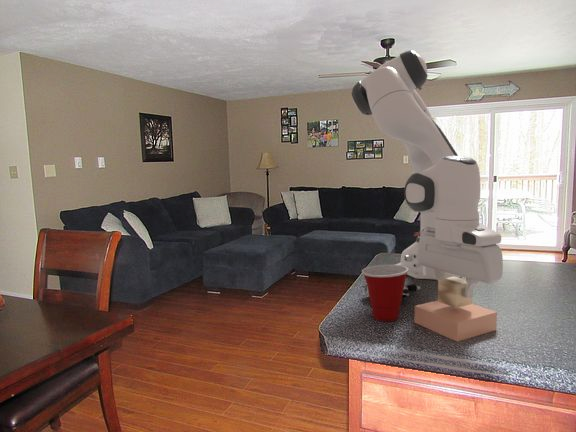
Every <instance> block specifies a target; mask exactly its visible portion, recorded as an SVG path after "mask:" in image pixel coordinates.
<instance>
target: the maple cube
mask: <svg viewBox="0 0 576 432" xmlns="http://www.w3.org/2000/svg"><path fill="white" fill-rule="evenodd" d="M437 282H438V283H437V284H438V285H437V291H438V292H437V298H438V299H437V301H438V302H441V303H444V304H446V305H449V306H452V307H455V308H458V307H462V306H466V305H470V304H473V298H474V297H473V296H474V295H473V296H472V298H466V297H463V296H462V289H463V288H466V286H467V285H468V283H467V282H466V278H462V277H459V278H458V277H449V278H444V279H440V280H437Z"/></svg>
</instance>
